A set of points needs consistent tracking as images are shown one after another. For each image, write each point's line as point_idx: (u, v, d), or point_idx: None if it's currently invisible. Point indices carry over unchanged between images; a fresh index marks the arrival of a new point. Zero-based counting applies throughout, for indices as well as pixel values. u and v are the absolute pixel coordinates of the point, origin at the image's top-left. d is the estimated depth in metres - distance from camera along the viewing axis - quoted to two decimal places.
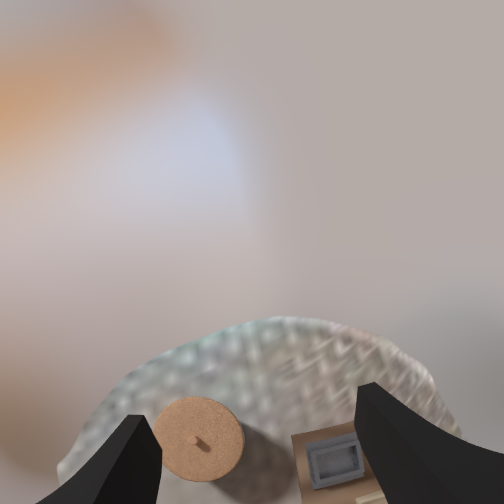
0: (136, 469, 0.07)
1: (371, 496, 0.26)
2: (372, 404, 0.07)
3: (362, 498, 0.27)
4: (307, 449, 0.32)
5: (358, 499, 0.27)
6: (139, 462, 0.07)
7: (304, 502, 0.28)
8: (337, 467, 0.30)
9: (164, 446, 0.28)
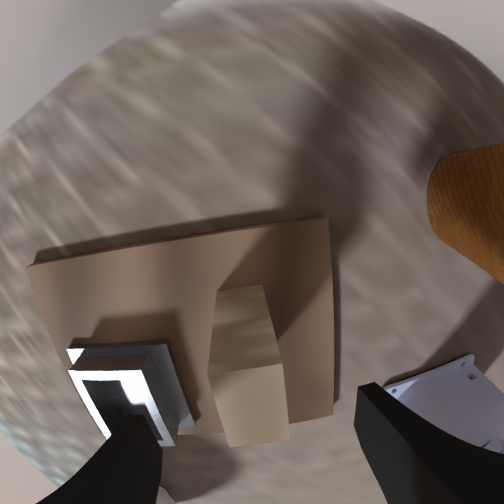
0: (136, 469, 0.07)
1: None
2: (372, 404, 0.07)
3: None
4: None
5: None
6: (139, 462, 0.07)
7: None
8: None
9: None
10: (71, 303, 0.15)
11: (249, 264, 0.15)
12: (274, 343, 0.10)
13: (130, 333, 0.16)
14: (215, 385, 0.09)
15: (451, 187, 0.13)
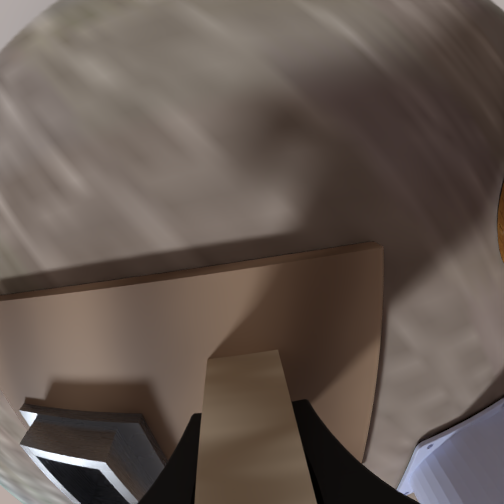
0: None
1: None
2: None
3: None
4: None
5: None
6: None
7: None
8: None
9: None
10: (15, 358, 0.09)
11: (258, 322, 0.09)
12: (310, 498, 0.04)
13: (91, 402, 0.10)
14: None
15: None
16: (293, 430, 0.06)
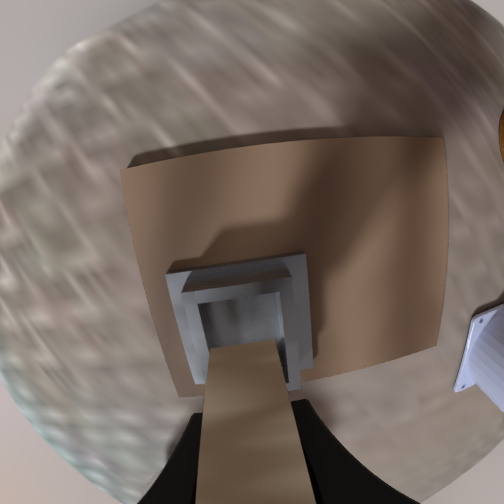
0: None
1: None
2: None
3: None
4: None
5: None
6: None
7: (340, 371, 0.17)
8: (264, 321, 0.16)
9: None
10: (182, 212, 0.14)
11: (388, 170, 0.14)
12: (302, 466, 0.05)
13: (258, 246, 0.15)
14: None
15: None
16: (287, 408, 0.07)
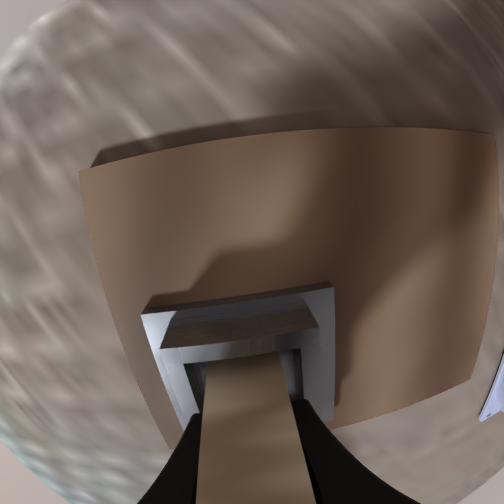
0: None
1: None
2: None
3: None
4: None
5: None
6: None
7: (364, 418, 0.13)
8: None
9: None
10: (162, 229, 0.10)
11: (438, 172, 0.10)
12: (301, 464, 0.05)
13: (268, 276, 0.11)
14: None
15: None
16: (287, 405, 0.07)
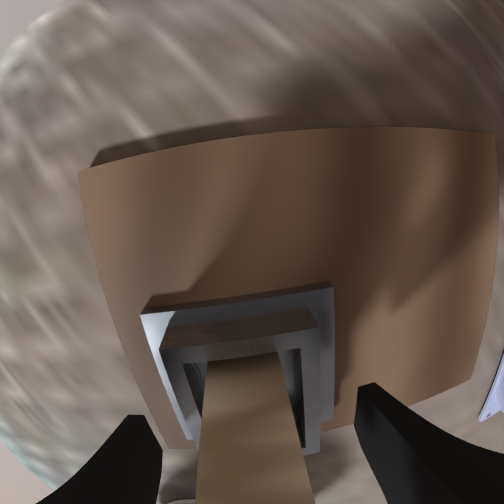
0: (136, 469, 0.07)
1: None
2: (372, 404, 0.07)
3: None
4: None
5: None
6: (139, 462, 0.07)
7: None
8: None
9: None
10: (161, 229, 0.10)
11: (437, 172, 0.10)
12: (301, 465, 0.05)
13: (267, 276, 0.11)
14: None
15: None
16: (286, 406, 0.07)
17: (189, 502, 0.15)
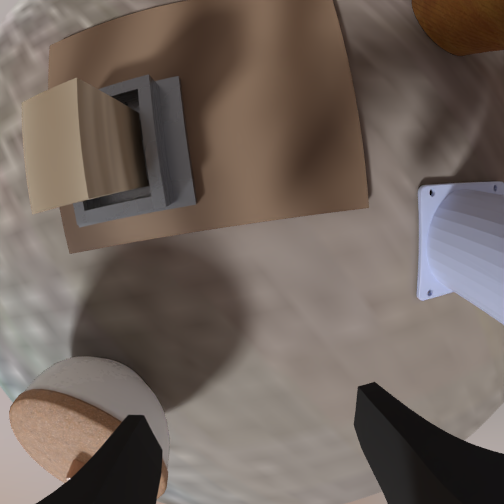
0: (136, 469, 0.07)
1: None
2: (372, 404, 0.07)
3: None
4: None
5: None
6: (139, 462, 0.07)
7: (236, 221, 0.16)
8: None
9: None
10: (86, 63, 0.13)
11: (266, 14, 0.13)
12: (90, 87, 0.08)
13: None
14: (25, 115, 0.07)
15: None
16: None
17: None
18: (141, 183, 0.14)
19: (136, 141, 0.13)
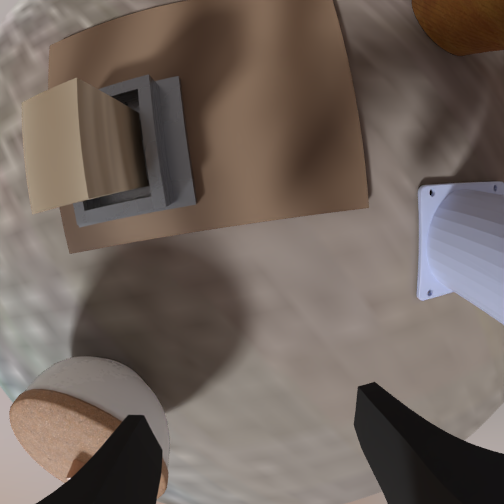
0: (136, 469, 0.07)
1: None
2: (372, 404, 0.07)
3: None
4: None
5: None
6: (139, 462, 0.07)
7: (236, 221, 0.16)
8: None
9: None
10: (86, 63, 0.13)
11: (266, 14, 0.13)
12: (90, 87, 0.08)
13: None
14: (25, 115, 0.07)
15: None
16: None
17: None
18: (141, 183, 0.14)
19: (136, 141, 0.13)
